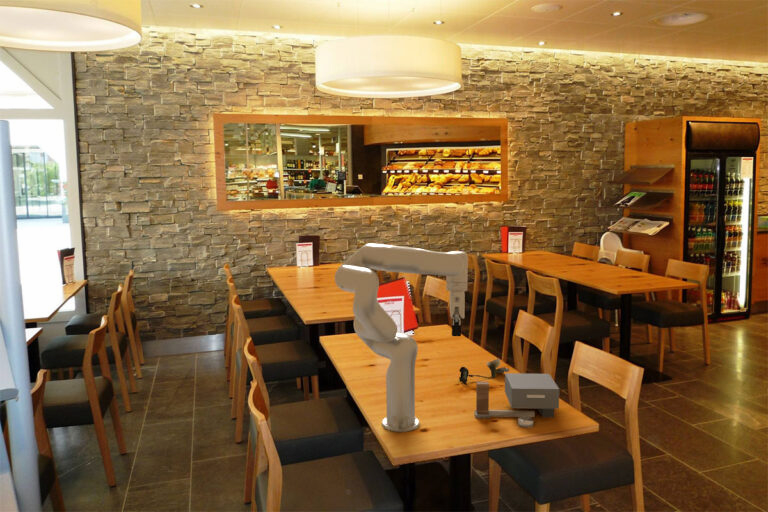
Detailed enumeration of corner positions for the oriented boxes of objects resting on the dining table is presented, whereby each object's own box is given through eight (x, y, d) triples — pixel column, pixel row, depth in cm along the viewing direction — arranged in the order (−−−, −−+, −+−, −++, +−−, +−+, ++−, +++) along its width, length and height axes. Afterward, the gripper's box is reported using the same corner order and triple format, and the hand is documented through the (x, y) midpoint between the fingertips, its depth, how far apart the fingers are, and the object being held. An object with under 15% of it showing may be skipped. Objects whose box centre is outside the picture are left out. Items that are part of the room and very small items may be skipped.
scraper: (535, 419, 205) (536, 385, 203) (475, 418, 206) (475, 384, 205) (533, 414, 209) (534, 381, 207) (474, 413, 210) (474, 380, 209)
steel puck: (534, 428, 198) (534, 422, 197) (519, 428, 198) (519, 422, 198) (531, 422, 203) (532, 416, 202) (517, 422, 203) (517, 416, 203)
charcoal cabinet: (558, 420, 203) (559, 389, 202) (511, 420, 204) (512, 389, 203) (548, 402, 220) (549, 373, 218) (504, 401, 221) (505, 373, 219)
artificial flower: (455, 382, 247) (454, 358, 248) (502, 382, 255) (501, 358, 256) (465, 383, 238) (465, 358, 240) (513, 382, 246) (512, 358, 248)
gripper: (468, 290, 203) (467, 339, 205) (466, 282, 220) (465, 327, 223) (446, 289, 204) (445, 338, 206) (446, 281, 221) (445, 326, 223)
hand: (456, 332), depth 214 cm, fingers open, 9 cm apart
